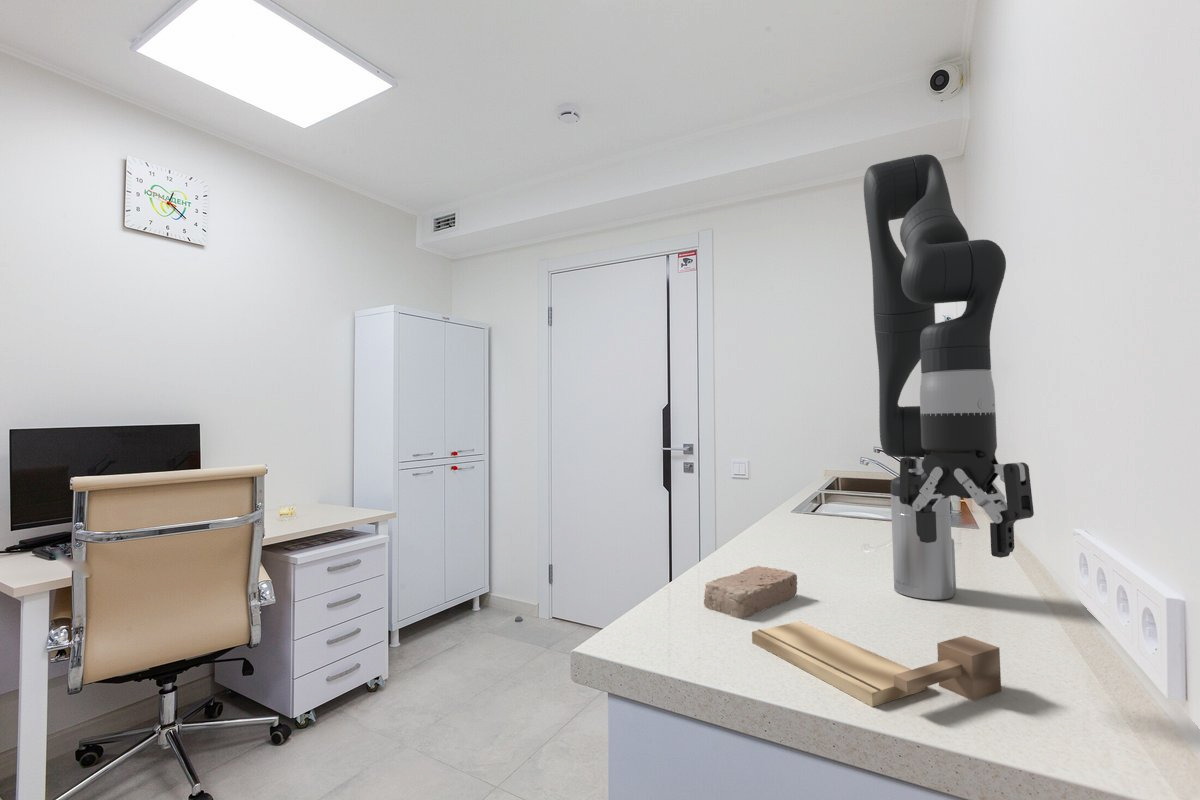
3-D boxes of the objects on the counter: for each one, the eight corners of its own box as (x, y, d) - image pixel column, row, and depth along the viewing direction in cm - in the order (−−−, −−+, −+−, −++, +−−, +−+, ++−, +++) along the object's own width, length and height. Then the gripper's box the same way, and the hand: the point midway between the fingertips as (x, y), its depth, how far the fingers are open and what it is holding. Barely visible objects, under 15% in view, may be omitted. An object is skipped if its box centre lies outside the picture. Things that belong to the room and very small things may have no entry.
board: (800, 631, 84) (800, 620, 84) (927, 689, 66) (927, 675, 66) (752, 642, 80) (751, 630, 80) (872, 706, 62) (871, 692, 62)
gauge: (971, 675, 69) (969, 634, 69) (1006, 689, 65) (1004, 645, 65) (885, 703, 63) (883, 657, 63) (918, 720, 59) (916, 672, 59)
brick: (742, 621, 89) (741, 591, 89) (701, 608, 96) (700, 580, 96) (799, 599, 100) (798, 572, 100) (758, 588, 106) (758, 563, 106)
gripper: (1043, 408, 62) (1050, 558, 61) (922, 411, 75) (927, 534, 74) (1000, 409, 59) (1007, 566, 58) (882, 412, 72) (886, 540, 71)
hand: (962, 548), depth 66 cm, fingers open, 8 cm apart
